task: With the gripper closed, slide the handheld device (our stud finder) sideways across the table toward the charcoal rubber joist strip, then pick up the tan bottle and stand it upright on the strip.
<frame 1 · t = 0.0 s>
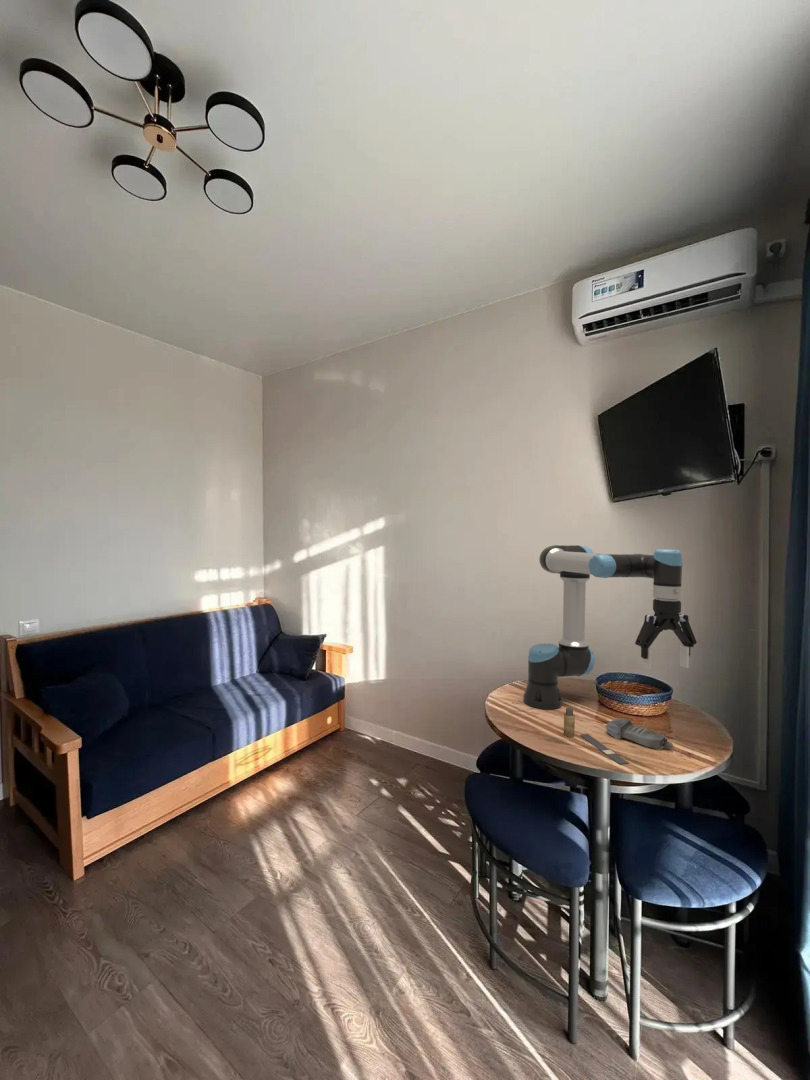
hand: (665, 668, 138), 28 cm above the table, fingers open, 13 cm apart
tan bottle: (568, 734, 154), on the table
joist strip: (602, 748, 144), on the table
handheld device: (639, 741, 150), on the table
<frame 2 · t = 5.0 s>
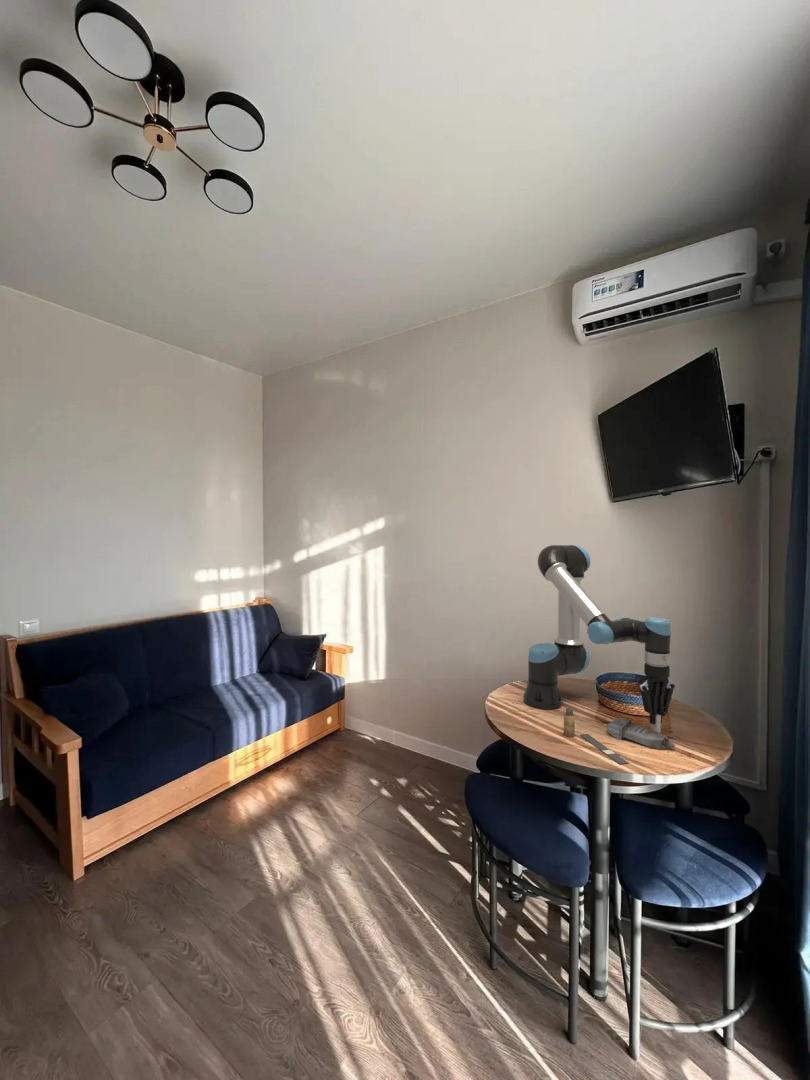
hand: (655, 732, 152), 2 cm above the table, fingers closed
handheld device: (640, 741, 150), on the table, touching gripper
everything else where it was.
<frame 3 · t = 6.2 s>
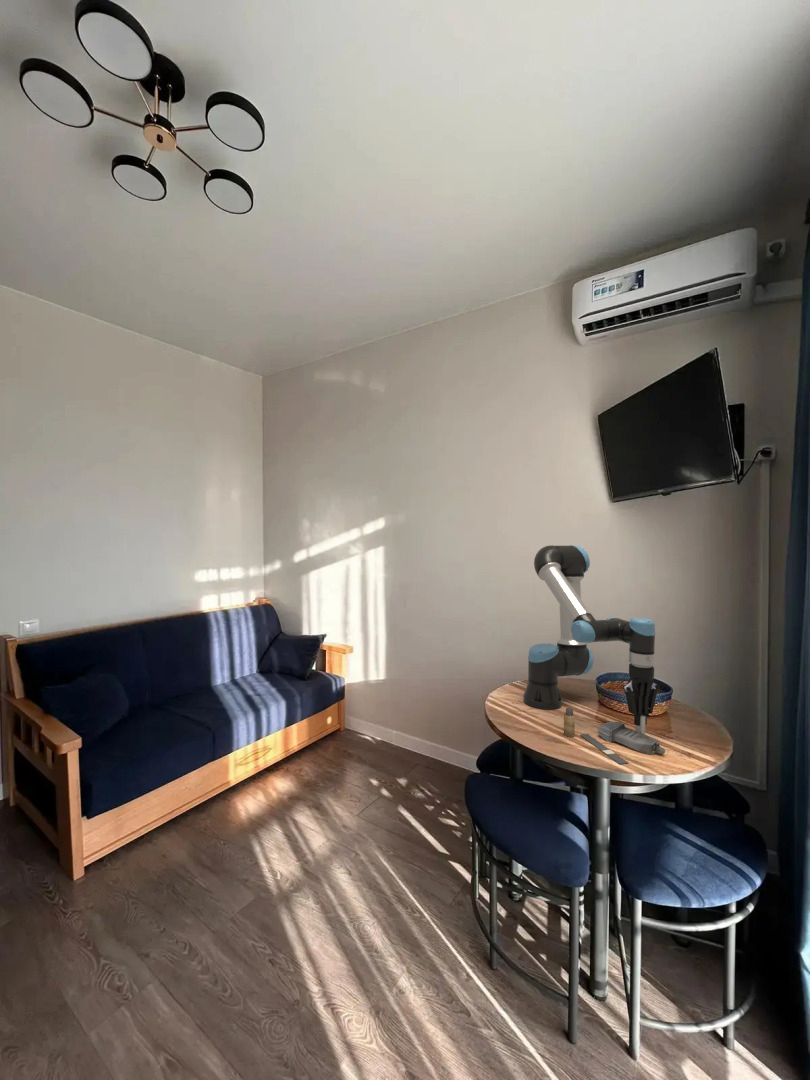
hand: (640, 734, 151), 2 cm above the table, fingers closed
handheld device: (632, 745, 147), on the table, touching gripper
everything else where it was.
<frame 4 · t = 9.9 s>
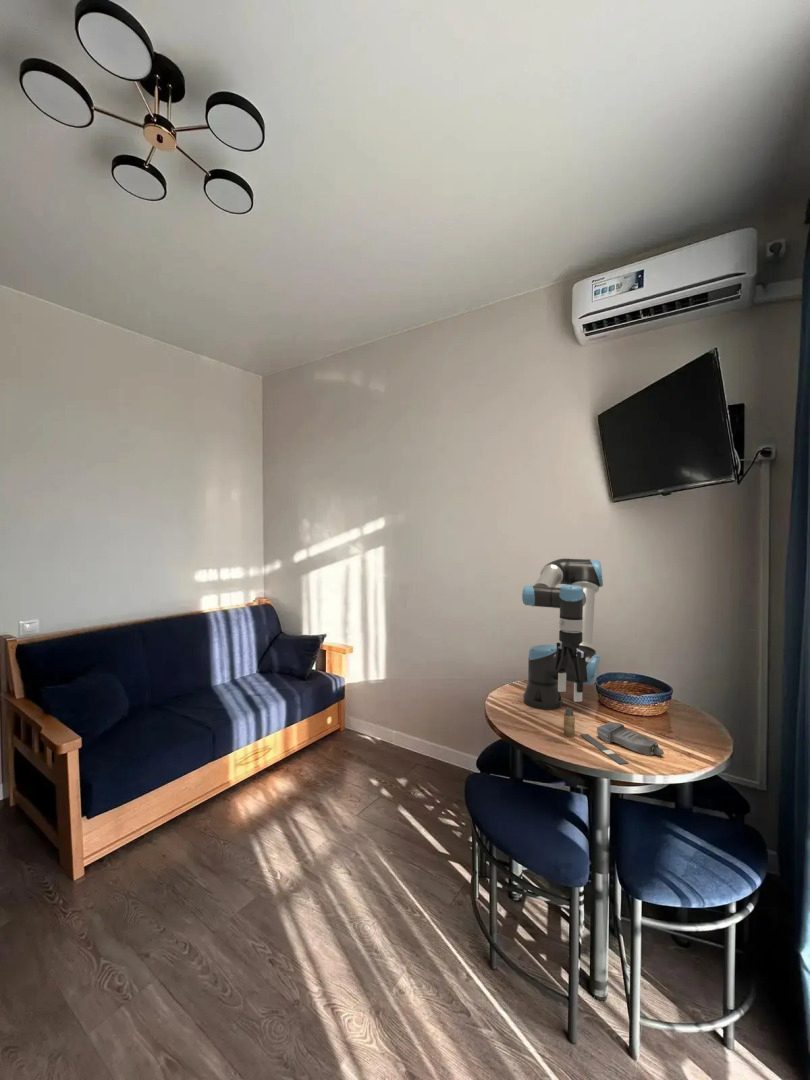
hand: (569, 696, 153), 13 cm above the table, fingers open, 9 cm apart
handheld device: (630, 746, 147), on the table
everything else where it was.
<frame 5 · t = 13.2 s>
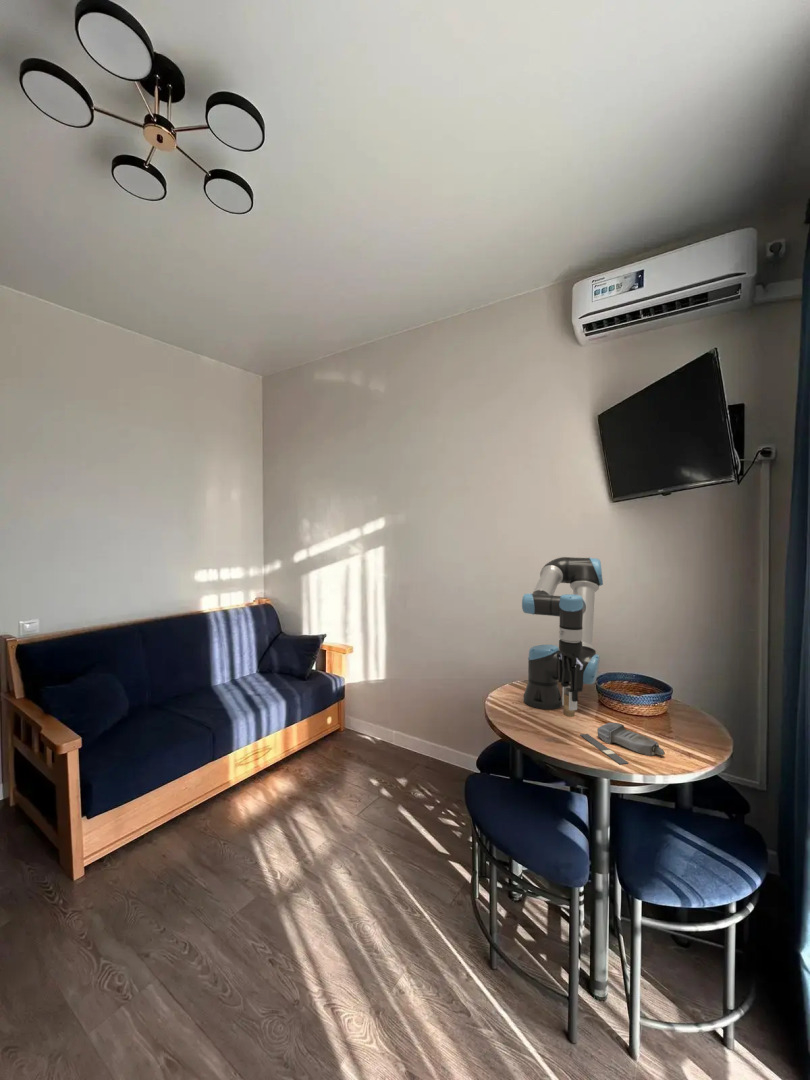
hand: (569, 707, 154), 9 cm above the table, fingers closed on tan bottle, 3 cm apart
tan bottle: (569, 714, 154), point 7 cm above the table, touching gripper
everything else where it was.
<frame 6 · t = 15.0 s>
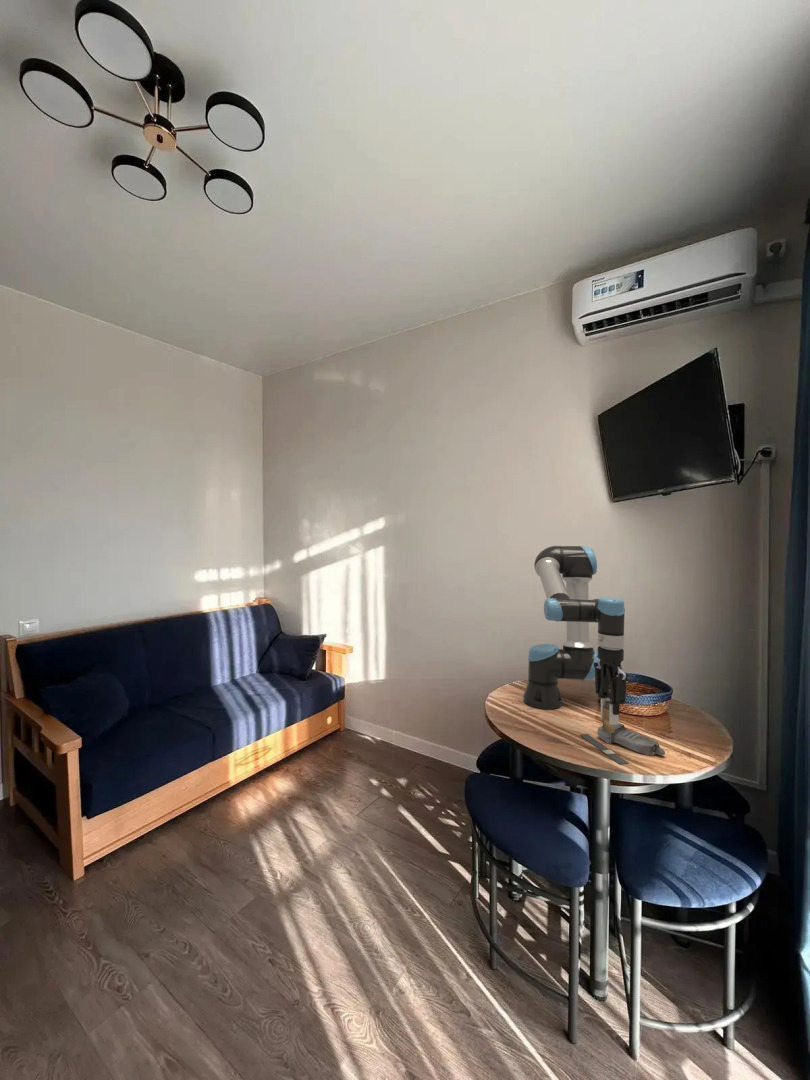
hand: (609, 721, 141), 10 cm above the table, fingers closed on tan bottle, 3 cm apart
tan bottle: (608, 730, 141), point 7 cm above the table, touching gripper
everything else where it was.
when the fingers open (1 cm above the table, at t = 16.8 s): tan bottle stays where it is, resting on joist strip.
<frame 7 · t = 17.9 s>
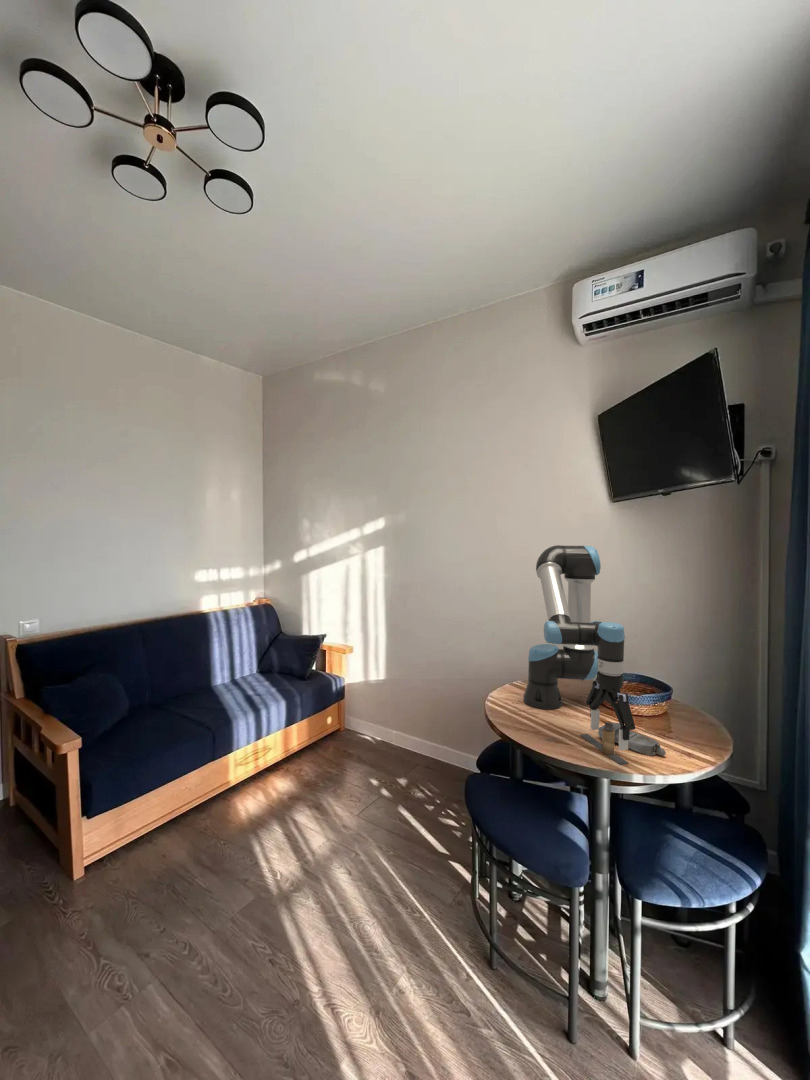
hand: (608, 738, 141), 4 cm above the table, fingers open, 13 cm apart
tan bottle: (608, 752, 141), resting on joist strip
everything else where it was.
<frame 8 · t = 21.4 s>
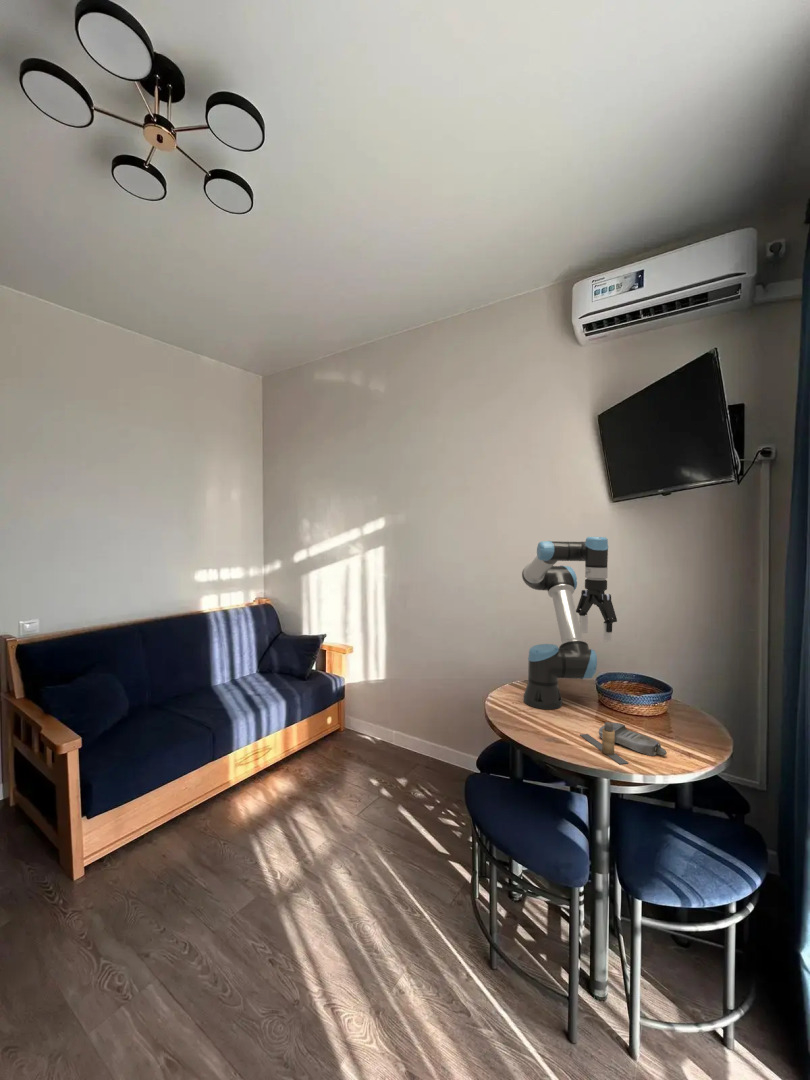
hand: (594, 637, 163), 32 cm above the table, fingers open, 13 cm apart
nothing on the table moved.
at the end: handheld device moved 5.9 cm from its start; tan bottle inside the target area (0.3 cm from its centre), resting on joist strip; tan bottle tilted 0° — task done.
